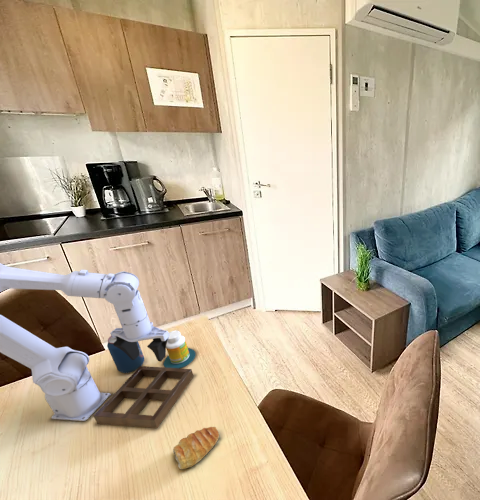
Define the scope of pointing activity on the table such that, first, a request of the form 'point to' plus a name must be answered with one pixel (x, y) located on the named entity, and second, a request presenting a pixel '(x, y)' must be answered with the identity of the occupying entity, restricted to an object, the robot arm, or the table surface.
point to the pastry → (195, 446)
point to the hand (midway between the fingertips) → (149, 358)
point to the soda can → (124, 358)
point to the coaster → (191, 357)
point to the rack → (144, 397)
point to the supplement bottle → (177, 347)
